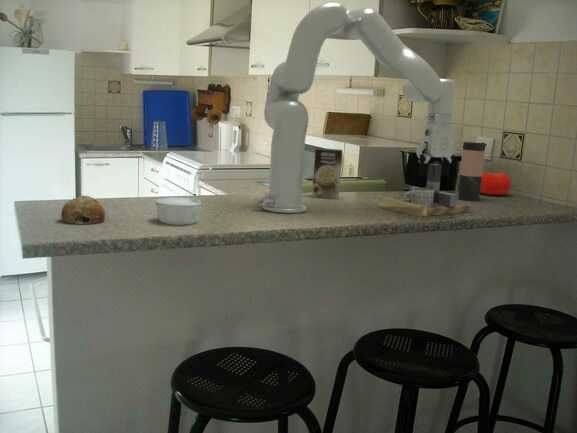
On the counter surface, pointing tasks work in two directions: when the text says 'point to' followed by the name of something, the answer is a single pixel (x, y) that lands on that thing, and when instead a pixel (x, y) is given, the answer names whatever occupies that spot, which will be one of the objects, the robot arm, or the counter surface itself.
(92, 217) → the bread roll
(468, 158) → the travel mug
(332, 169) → the coffee box
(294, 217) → the counter surface
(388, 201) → the wooden tray
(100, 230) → the counter surface
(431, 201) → the mug
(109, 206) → the counter surface
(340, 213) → the counter surface
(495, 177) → the tomato
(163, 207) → the ramekin
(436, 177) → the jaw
